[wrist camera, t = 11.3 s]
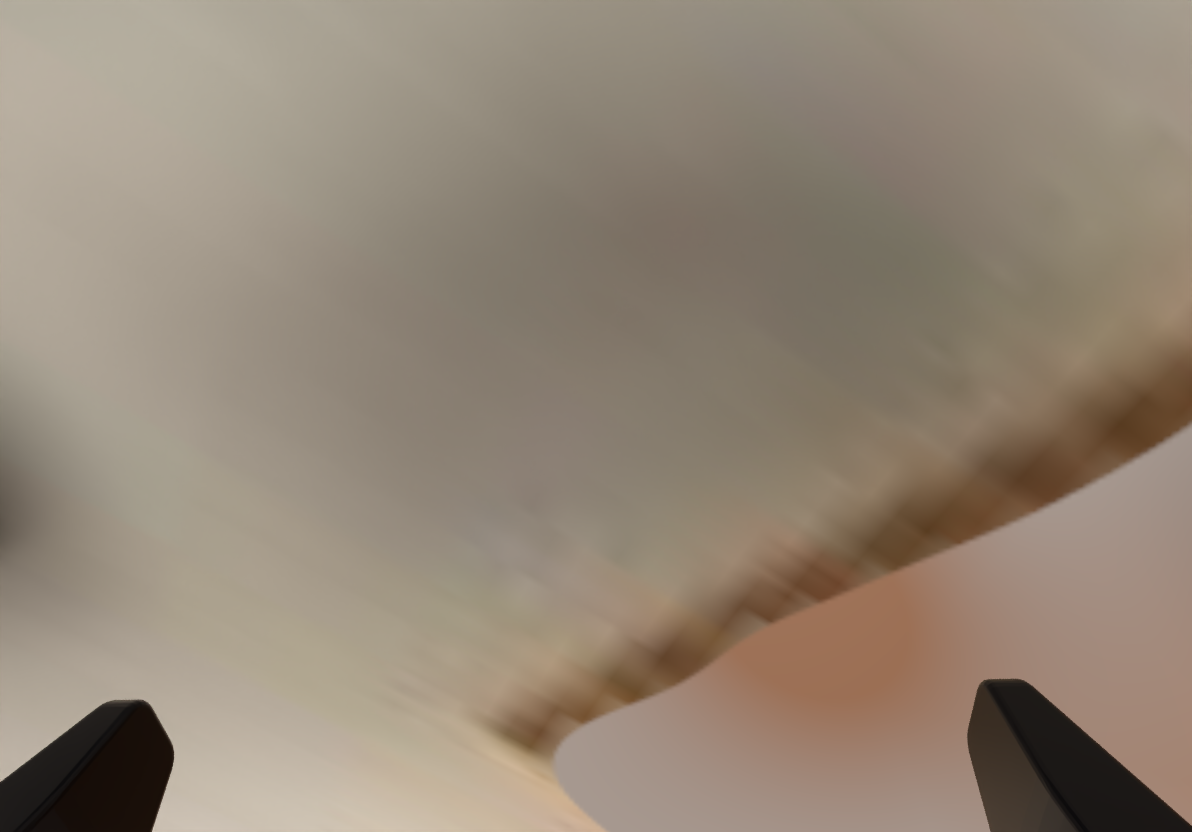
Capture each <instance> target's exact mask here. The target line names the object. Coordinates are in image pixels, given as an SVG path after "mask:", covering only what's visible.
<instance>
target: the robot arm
mask: <svg viewBox="0 0 1192 832" xmlns="http://www.w3.org/2000/svg"><path fill="white" fill-rule="evenodd" d="M967 738H968V748H969V753H970V757H971V761H972V765H973V769H974V772H975V776H976V779H977V783H978V787H979V791H980V794H981V798H982V801H983V805H984V809H985V813H986V816H987V820H988V824H989V827H990V831H991V832H1192V826H1191V825H1190V824H1189V823H1188V822H1187V821H1185V820H1184V819H1183V818H1182V817H1181V816H1180V815H1179V814H1178V813H1177V812H1175V811H1174V810H1173V809H1172V808H1171V807H1170V806H1169V805H1167V804H1166V803H1165V802H1164V801H1163V800H1162V799H1161V798H1159V797H1158V796H1157V795H1156V794H1155V793H1154V792H1153V791H1151V790H1150V789H1149V788H1148V787H1147V786H1146V785H1145V784H1143V783H1142V782H1141V781H1140V780H1139V779H1138V778H1137V777H1136V776H1134V775H1133V774H1132V773H1131V772H1130V771H1128V770H1127V769H1126V768H1125V767H1124V766H1123V765H1122V764H1121V763H1120V762H1118V761H1117V760H1116V759H1115V758H1114V757H1113V756H1112V755H1110V754H1109V753H1108V752H1107V751H1106V750H1105V749H1104V748H1102V747H1101V746H1100V745H1099V744H1098V743H1097V742H1096V741H1094V740H1093V739H1092V738H1091V737H1090V736H1089V735H1088V734H1086V733H1085V732H1084V731H1083V730H1082V729H1081V728H1080V727H1079V726H1077V725H1076V724H1075V723H1074V722H1073V721H1072V720H1070V719H1069V718H1068V717H1067V716H1066V715H1065V714H1064V713H1063V712H1061V711H1060V710H1059V709H1058V708H1057V707H1056V706H1054V705H1053V704H1052V703H1051V702H1050V701H1049V700H1048V699H1047V698H1045V697H1044V696H1043V695H1042V694H1041V693H1040V692H1038V691H1037V690H1036V689H1035V688H1034V687H1033V686H1031V685H1030V684H1029V683H1027V682H1025V681H1023V680H1020V679H988V680H984V681H983V682H981V684H980V685H979V687H978V689H977V693H976V697H975V702H974V706H973V710H972V714H971V719H970V723H969V727H968V734H967ZM173 762H174V750H173V745H172V743H171V741H170V739H169V737H168V735H167V733H166V732H165V730H164V728H163V726H162V724H161V723H160V721H159V719H158V717H157V715H156V714H155V712H154V710H153V708H152V707H151V705H150V704H149V703H147V702H146V701H144V700H114V701H109V702H106V703H104V704H102V705H101V706H99V707H98V708H96V709H95V710H94V711H92V712H91V713H90V714H88V715H87V716H86V717H85V718H83V719H82V720H81V721H79V722H78V723H77V724H75V725H74V726H73V727H72V728H70V729H69V730H68V731H66V732H65V733H64V734H62V735H61V736H60V737H59V738H57V739H56V740H55V741H53V742H52V743H51V744H49V745H48V746H47V747H46V748H44V749H43V750H42V751H40V752H39V753H38V754H36V755H35V756H34V757H32V758H31V759H30V760H29V761H27V762H26V763H25V764H23V765H22V766H21V767H19V768H18V769H17V770H16V771H14V772H13V773H12V774H10V775H9V776H8V777H6V778H5V779H4V780H3V781H1V782H0V832H152V830H153V827H154V823H155V820H156V817H157V814H158V811H159V808H160V805H161V802H162V799H163V796H164V793H165V790H166V786H167V783H168V780H169V777H170V774H171V771H172V767H173Z"/></svg>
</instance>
